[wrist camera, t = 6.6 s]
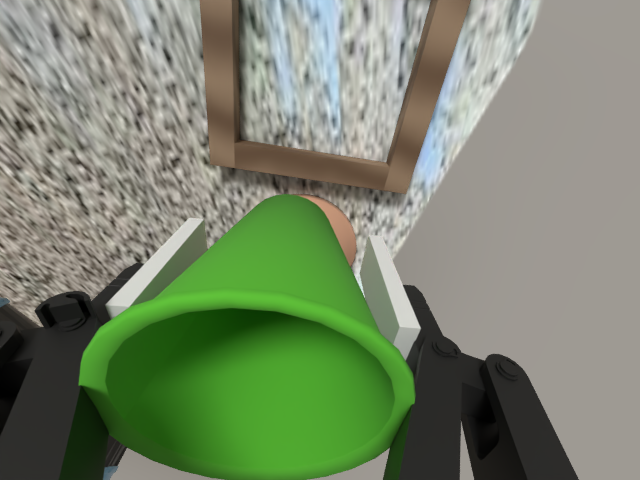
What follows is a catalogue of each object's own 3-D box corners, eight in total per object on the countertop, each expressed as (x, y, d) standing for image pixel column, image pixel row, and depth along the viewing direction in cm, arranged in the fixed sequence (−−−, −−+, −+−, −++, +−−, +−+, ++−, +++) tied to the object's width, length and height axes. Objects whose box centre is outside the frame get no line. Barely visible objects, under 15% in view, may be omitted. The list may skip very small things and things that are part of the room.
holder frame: (401, 187, 31) (405, 193, 29) (217, 159, 29) (210, 164, 28) (486, -79, 20) (502, -94, 18) (201, -141, 19) (189, -164, 17)
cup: (364, 278, 19) (410, 475, 9) (240, 291, 19) (165, 490, 10) (357, 148, 14) (434, 273, 5) (195, 169, 15) (-21, 320, 5)
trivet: (343, 290, 39) (344, 296, 38) (247, 278, 38) (245, 284, 37) (366, 203, 32) (368, 207, 31) (248, 185, 31) (246, 189, 30)
